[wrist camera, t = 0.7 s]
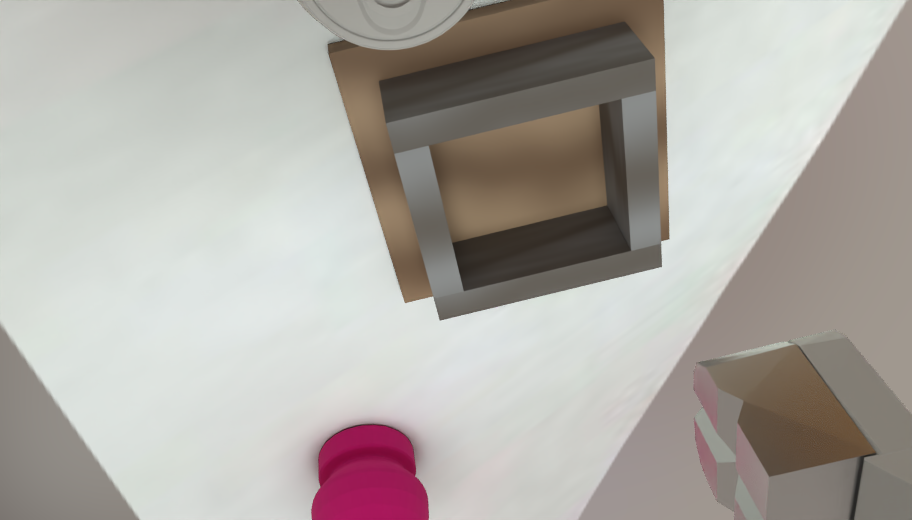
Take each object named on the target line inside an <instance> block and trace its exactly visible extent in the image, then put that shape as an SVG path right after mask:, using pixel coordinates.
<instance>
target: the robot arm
mask: <svg viewBox="0 0 912 520" xmlns="http://www.w3.org/2000/svg"><path fill="white" fill-rule="evenodd" d="M694 391H695V393H696V395H697V397H698V398H699V400H700V402H701V404H702V406H703V407H702V408H701V409H700V411H699V412H698V413H697V415H696V416H695V417H694V425H695V440H696V445H697V449H698V453H699V458H700V462H701V465H702V468H703V471H704V473H705V476H706V479H707V481H708V483H709V486H710V488H711V490H712V492H713V494H714V496H715V498H716V500H717V502H719V503H721V504H722V505H724V506H726V507H727V508H729V509H731V510H732V511H734V515H735V516H734V520H912V414H911V413H910V411H909V410H908V409H907V408H906V407H905V405H904V404H903V403H902V402H901V401H900V400H899V398H898V397H897V396H896V395H895V394H894V392H893V391H892V390H891V389H890V388H889V386H888V385H887V384H886V383H885V382H884V380H883V379H882V378H881V377H880V376H879V374H878V373H877V372H876V371H875V370H874V368H873V367H872V366H871V365H870V364H869V363H868V361H867V360H866V359H865V358H864V356H863V355H861V353H860V352H859V351H858V349H857V348H856V347H855V346H854V345H853V343H852V342H851V341H850V340H849V339H848V337H847V336H846V335H845V334H843V333H841V332H839V331H837V330H831V331H827V332H823V333H819V334H814V335H810V336H806V337H802V338H798V339H794V340H790V341H788V342H781V343H776V344H772V345H768V346H764V347H760V348H756V349H751V350H747V351H743V352H739V353H735V354H731V355H727V356H723V357H719V358H715V359H710V360H706V361H702V362H698V363H697V364H696V366H695V369H694Z"/></svg>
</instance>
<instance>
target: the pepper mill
mask: <svg viewBox="0 0 912 520" xmlns="http://www.w3.org/2000/svg"><path fill="white" fill-rule="evenodd" d="M318 461H319V483H320V486H321V487H320V489H319V490H318V492H317V494H316V496H315V498H314V500H313V504H312V509H311V514H312V520H428V519H429V509H428V496H427V493H426V490H425V488H424V487H423V485H422V483H421V482H420V481H419V479H417V478H416V477H415V474H416V466H415V459H414V451H413V447H412V445H411V443H410V441H409V440H408V438H407V437H406V436H405V435H403V434H402V433H400V432H399V431H397V430H395V429H392V428H389V427H386V426H379V425H361V426H357V427H353V428H349V429H346V430H344V431H342V432H340V433H338V434H336V435H334V436H333V437H332V438H331V439H329V440H328V441H327V442H326V443H325V445H324V446H323V447H322V449H321V451H320V454H319V459H318Z"/></svg>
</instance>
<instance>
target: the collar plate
mask: <svg viewBox="0 0 912 520" xmlns="http://www.w3.org/2000/svg"><path fill="white" fill-rule="evenodd" d="M328 54H329V57H330V60H331V63H332V67H333V70H334V73H335V77H336V80H337V83H338V86H339V90H340V93H341V96H342V99H343V103H344V106H345V109H346V112H347V116H348V119H349V122H350V125H351V129H352V132H353V135H354V138H355V142H356V145H357V148H358V152H359V155H360V158H361V161H362V165H363V168H364V171H365V174H366V178H367V181H368V184H369V187H370V191H371V194H372V197H373V200H374V204H375V207H376V210H377V213H378V217H379V220H380V223H381V227H382V230H383V233H384V236H385V240H386V243H387V246H388V249H389V253H390V256H391V259H392V262H393V266H394V269H395V272H396V275H397V279H398V282H399V285H400V289H401V292H402V295H403V298H404V302H405V303H407V302H412V301H416V300H420V299H424V298H428V297H432V296H433V297H434V301H435V304H436V308H437V312H438V315H439V319H440V320H444V319H448V318H452V317H457V316H461V315H465V314H469V313H473V312H477V311H481V310H485V309H490V308H494V307H498V306H502V305H506V304H510V303H514V302H519V301H523V300H527V299H531V298H535V297H539V296H543V295H547V294H552V293H556V292H560V291H564V290H568V289H572V288H576V287H580V286H585V285H589V284H593V283H597V282H601V281H605V280H609V279H614V278H618V277H622V276H626V275H630V274H634V273H638V272H642V271H647V270H651V269H655V268H659V267H662V256H661V241H664V240H668V239H669V204H668V163H667V123H666V82H665V41H664V1H663V0H510V1H506V2H502V3H497V4H493V5H489V6H485V7H481V8H477V9H473V10H468V11H467V12H466V13H465V15H464V16H463V17H462V18H461V19H460V20H459V21H458V22H457V23H456V24H455V25H454V26H453V27H451V28H450V29H449V30H448V31H446V32H445V33H443V34H442V35H440V36H438V37H437V38H435V39H433V40H431V41H429V42H427V43H424V44H421V45H418V46H415V47H411V48H406V49H400V50H377V49H371V48H366V47H362V46H359V45H356V44H353V43H351V42H348V41H346V40H344V41H340V42H336V43H332V44H328Z"/></svg>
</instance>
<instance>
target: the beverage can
mask: <svg viewBox="0 0 912 520" xmlns="http://www.w3.org/2000/svg"><path fill="white" fill-rule="evenodd" d="M297 1H298V2H299V3H300V4H301V5H302V7H303V8H304V9H305V10H306V11H307V12H308V13H309V14H310V15H311V16H312V17H313V18H314V19H316V20H317V21H318V22H319V23H321V24H322V25H323V26H324V27H325V28H327V29H328V30H329V31H331V32H332V33H334V34H335V35H337V36H339V37H340V38H342V39H344V40H346V41H348V42H351V43H353V44H356V45H359V46H362V47H366V48H371V49H377V50H400V49H406V48H411V47H415V46H418V45H421V44H424V43H427V42H429V41H431V40H433V39H435V38H437V37H438V36H440V35H442V34H443V33H445V32H446V31H448V30H449V29H450V28H451V27H453V26H454V25H455V24H456V23H457V22H458V21H459V20H460V19H461V18H462V17H463V16H464V15H465V13H466V12H467V11H468V10H469V8H470V7H471V6H472V4H473V2H474V1H475V0H297Z"/></svg>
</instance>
